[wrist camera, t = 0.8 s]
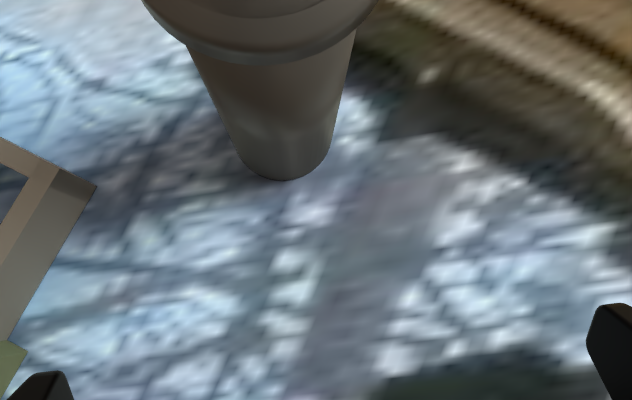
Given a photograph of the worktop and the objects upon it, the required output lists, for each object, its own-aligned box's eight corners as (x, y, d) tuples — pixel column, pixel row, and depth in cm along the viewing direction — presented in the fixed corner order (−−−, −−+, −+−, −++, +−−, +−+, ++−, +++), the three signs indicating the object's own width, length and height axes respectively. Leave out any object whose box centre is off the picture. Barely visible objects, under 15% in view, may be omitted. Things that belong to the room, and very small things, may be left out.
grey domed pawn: (308, 209, 22) (322, 92, 9) (202, 156, 23) (49, -42, 9) (360, 107, 23) (450, -150, 9) (257, 57, 23) (197, -268, 10)
